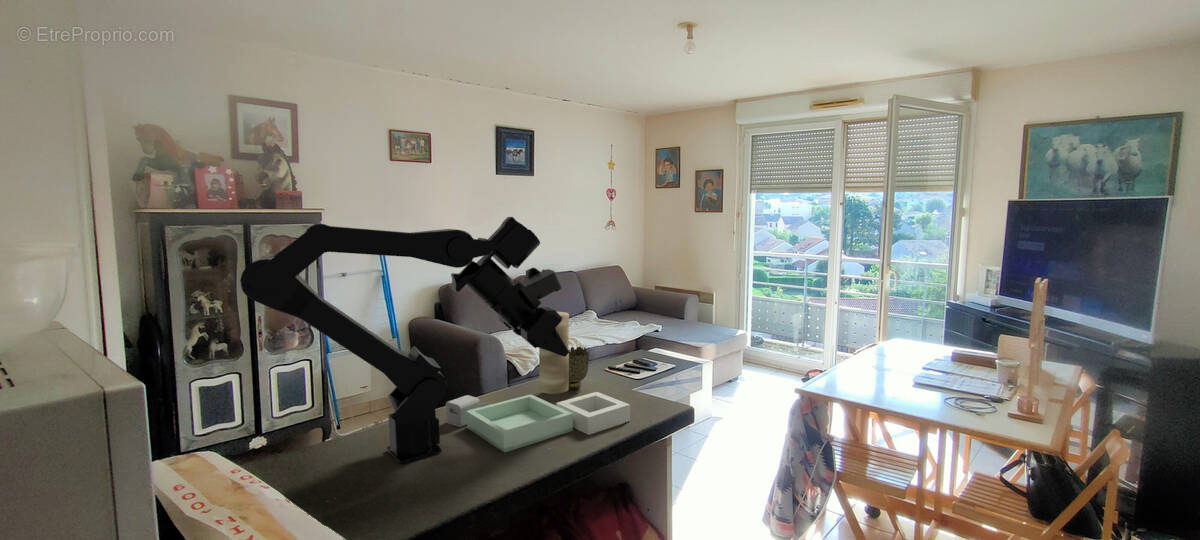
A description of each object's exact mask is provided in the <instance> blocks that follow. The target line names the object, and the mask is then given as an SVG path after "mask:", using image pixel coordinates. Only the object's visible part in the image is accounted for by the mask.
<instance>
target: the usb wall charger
mask: <svg viewBox="0 0 1200 540" xmlns="http://www.w3.org/2000/svg"><path fill="white" fill-rule="evenodd" d="M487 405H489V403H488V402H484V403H481V400H480V399H479V398H478V397H476V396H472V395H469V394H468V395H467V394H466V395H463V396H460V397H458V398H455V399H452V400H448V401H446V403H445V419H446V423H448V424H449V425H452V426H455V427H458V428H461V427H464V426H467V420H466V411H468V410H472V409H476V408H480V407H484V406H487Z"/></svg>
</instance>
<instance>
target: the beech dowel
mask: <svg viewBox="0 0 1200 540" xmlns="http://www.w3.org/2000/svg"><path fill="white" fill-rule="evenodd" d="M556 312H557V313H558V314H559V315H560V316H561V317H562V321H561V322H560V323H559V325H558V326H557V327H556V331H557V332H558V334H559V336H560V338H561V339H562V341H563V342H564V344H565V346H566V347H567V349H568V351H569V350H570V346H569V345H570V340H569V339H570V336H569V334H570V331H569V329H570V314H569V312H564V311H556ZM538 349H539V351H538V352H539V353H538V355H539V356H538V357H539V358H538V361H539V362H538V365H539V367H538V368H539V369H538V370H539V374H538V375H539V376H538V378H539V379H538V380H539V381H538V384H539V387H538V389H539V391H540V392H541V393H543V394H544V393H545V394H548V395H549V394H550V395H556V394H562V393H563V394H564V393H566V392H568V391H569V390H570V389H569V353H568V354H567V355H566V356H565V357H564V356H561V355H559V354H556V353H553V352H550V351H547V350H544V349H541V348H538Z"/></svg>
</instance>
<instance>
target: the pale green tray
mask: <svg viewBox="0 0 1200 540" xmlns="http://www.w3.org/2000/svg"><path fill="white" fill-rule="evenodd" d="M486 405H487V404H486ZM486 405H485V406H484V407H480V408H476V409H472V410H468V411H466V420H467V425H466V429H468V430H470V431H471V432H472V433H474V434H476V435H477V436H479V437H480V438H482V439H483V440H484V441H486V442H487V443H489V444H491V445H492V446H494V447H495V448H496V449H498V450H500V451H501V452H502V453H508V452H511V451H514V450H517V449H518V450H519V449H520V448H523V447H527V446H530V445H533V444H536V443H539V442H543V441H546V440H549V439H552V438H554V437H557V436H561V435H564V434H568V433H571V432H574V428H573V413H570V412H568V411H566V410H564V409H562V408H560V407H557V406H556V405H555V404H552V403H550V402H548V401H546V400H545V399H542V398H540V397H537V396H535V395H533V394H527V395H523V396H520V397H519V396H518V397H516V398H512V399H507V400H503V401H500V402H496V403H492V404H488V405H487V406H486Z"/></svg>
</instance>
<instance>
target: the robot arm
mask: <svg viewBox="0 0 1200 540" xmlns="http://www.w3.org/2000/svg"><path fill="white" fill-rule="evenodd" d="M540 245H541V241H540V238H538V236H537V235H536V234H535V233H534V232H533V231H532V230H531V229H528V227H526V226H525V225H524V224H522V223H520V222H519V221H517V220H516V219H515V218H514V217H513V216H507V217H506V218H505V219H504V220H503V221H502V223H501V225H500V226H499V227H498V228H497V229H496V230H495V231H494V232H493V233H492V234H491V235H490V236H489V237H488V239H487V238H484V237H483V238H482V237H478V238H474V237H472V234H470V233H469V232H468V231H466V230H462V229H456V228H443V229H433V230H422V231H414V232H413V231H412V232H408V231H407V232H406V231H404V232H403V231H394V230H384V229H383V230H380V229H371V228H370V229H369V228H360V227H359V228H357V227H356V228H355V227H345V226H333V225H332V226H331V225H328V224H324V223H314V224H312V225H310V226H309V227H308V228H307V229H306V230H305V232H304V233H302V234H301V235H299V237H297V238H296V239H295V240H293V241H291V243H289V244H288V245H286V247H284V248H283V249H281V250H280V251H279V252H277V253H276V254H275V255H273V256H271V255H270V256H262V257H259V258H257V259H255V260H253V261H252V262H251V263H250V264H248V265H247V266H246V267H245V268H244V270H243V271H242V273H241V275H240V276H241V277H240V287H241V291H242V292H243V293H244V295H246V297H247V298H249V300H251V301H254V302H256V303H258V304H260V305H263V306H265V307H268V308H270V309H272V310H275V311H277V312H280V313H282V314H284V315H285V314H286V315H288V316H292V317H294V318H297V319H300V320H302V321H304V323H306V324H308V325H309V326H311V327H312V328H314V329H316V330H317V332H318V331H319V332H320V333H322V334H323V335H324V336H326V337H328V338H329V339H331V340H333V341H334V342H335V343H336V344H338V345H340V346H341V347H343V348H344V349H346V350H347V351H349V352H351V353H352V354H354V356H357V357H358V358H359V359H362V360H363V361H364V362H366V363H368V365H370V366H372V367H373V368H375V369H376V370H378V371H380V372H381V373H382V374H384V375H385V376H386V377H387V378H388V380H390V382H391V383H392V384H393V385H394V386H395V388H394V389H393V390H392V391H391V392H390V393H389V394H388V399H389V402H390V405H391V408H392V410H393V413H390V414H388V417H387V418H388V431H389V433H388V434H389V446H387V447H386V452H387V453H388V454H390V456H391V457H393V458H394V459H395V461H397V462H398V464H405V463H408V462H412V461H415V460H419V459H421V458H425V457H429V456H432V455H436V454H439V453H441V452H442V450H443V449H442V447H441V446H440V444H441V436H440V435H441V434H440V419H439V418H438V417H437V415H436V414H437V413H436V412H437V411H436V410H437V406H438V404H439V403H440V402H441V401H442V400H443V399H444V398H445V396H446V394H447V389H448V384H447V380H446V378H445V376H444V375H443V374H442V372H441V371H442V369H443V368H442V367H441V366H440V365H439V364H438V362H436V360H435V359H434V358H433V357H428V356H426V355H424V354H423V353H422V352H421V351H420V350H419V349H418V348H417V347H416V346H415V345H413V346H412V347H411V349H410V351H409V352H406V351H404V350H401V349H398V348H396V347H394V346H393V345H391V344H390V343H389V342H388V341H386V340H384V339H383V338H381V337H380V336H378V335H377V334H375V333H374V332H373V331H372V330H370V329H368V328H367V327H366V326H364V325H363V324H361V323H360V322H358V321H357V320H355V319H353V318H352V317H350V316H349V315H348V314H346V313H345V312H344V311H342V310H340V308H337V307H336V306H335V305H333V304H331V303H330V302H329V301H328V300H326V299H325V298H323V297H321V296H320V295H319V294H318V293H317V292H316V291H315V290H314V289H313V287H311V286H310V284H308V283H307V281H306V280H305V279H304V278H303V277H302V276H301V275H300V273H302V272H304V271H305V269H307V268H308V267H309V266H310V265H312V264H313V263H315V261H316V260H318V259H319V258H320V257H321V256H323V255H324V254H326V253H338V254H339V253H341V254H357V255H358V254H359V255H360V254H361V255H372V256H387V257H388V256H389V257H390V256H391V257H403V258H414V259H417V260H422V261H426V262H430V263H434V264H436V265H437V264H439V265H443V266H447V267H450V268H456V269H458V268H459V269H460V268H462V270H461V271H460V272H458V273H454V272H453V273H450V274H451V275H450V277H451V289H452V290H453V291H454V292H461V290H463V288H464V287H465V286H467V287H468V288H469V289H470V290H471V291H472V292H473V294H475V295H476V296H477V297H478V298H479V299H481V300H482V301H483V302H484V303H485V304H486V306H487V307H488V308H489V309H491V310H492V311H493V312H494V313H496V315H497V316H499V317H498V320H499V322H501V324H503V326H505V327H506V328H507V329H508V330H511V329H513V330H512V333H514V334H516V335H517V336H519V337H521V338H522V339H524V340H525V342H527V344H529V345H530V346H532V348H534V349H537V348H538V349H539V348H541V349H544V350H547V351H550V352H553V353H556V354H559V355H561V356H564V357H565V356H566V355H567V354H568V353H569V351H568V349H567V347H566V346H565V344H564V342H563V341H562V339H561V338H560V336H559V334H558V332H557V331H556V327H557V326H558V325H559V323H560V322H561V321H562V317H561V316H560V315H559V314H558V313H557V312H558V311H556V310H555V309H553V308H551V307H549V306H541V307H540V305H541V304H542V301H540V300H541V299H544V298H545V297H547V296H549V295H550V294H552V293H554V292H555V293H557V292H558V291H560V290H562V285H561V282H560V280H559V278H558V275H557V273H556V271H555V270H552V269H549V268H548V269H542V270H541V271H540V270H539V269H538V268H536V267H531V268H528V269H526V270H525V278H524V279H523V281H522V282H520V281H516V280H515V279H513V278H511V277H510V275H509V274H508V273H507V272H506V271H504V270H503V269H502V268H501V266H502V267H503V268H504V269H506V270H509V269H510V268H511V267H513V268H514V269H519V267H520V266H521V265H522V264H523V263H524V262H525V261H526V260H527V258H529V256H530V255H532V253H533V252H534V251H535V250H536V249H537V248H538V247H539V246H540ZM479 257H481V258H480V259H478V260H477V262H475V261H474V258H475V259H476V258H479ZM492 258H493V259H494V260H493V259H492ZM495 261H496V262H495ZM497 263H499V264H500V265H501V266H499V265H498V264H497Z"/></svg>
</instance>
